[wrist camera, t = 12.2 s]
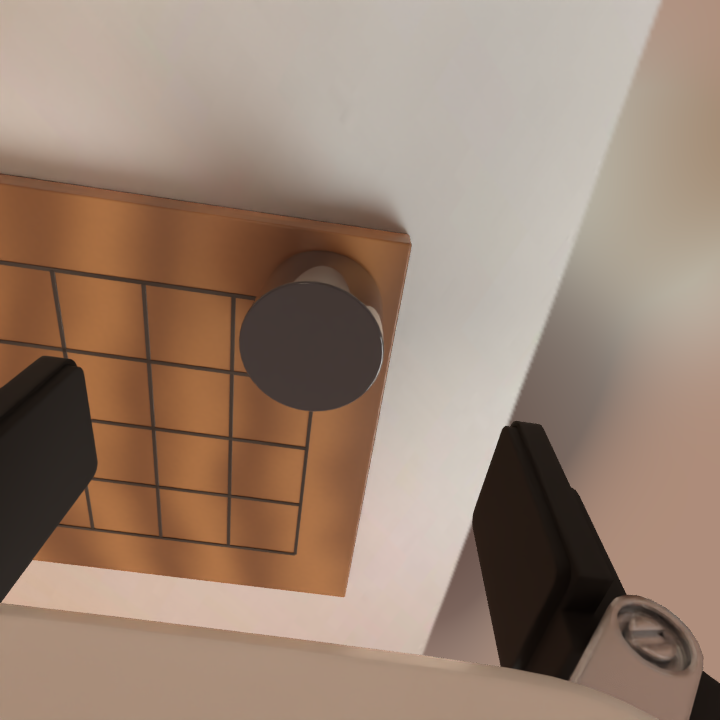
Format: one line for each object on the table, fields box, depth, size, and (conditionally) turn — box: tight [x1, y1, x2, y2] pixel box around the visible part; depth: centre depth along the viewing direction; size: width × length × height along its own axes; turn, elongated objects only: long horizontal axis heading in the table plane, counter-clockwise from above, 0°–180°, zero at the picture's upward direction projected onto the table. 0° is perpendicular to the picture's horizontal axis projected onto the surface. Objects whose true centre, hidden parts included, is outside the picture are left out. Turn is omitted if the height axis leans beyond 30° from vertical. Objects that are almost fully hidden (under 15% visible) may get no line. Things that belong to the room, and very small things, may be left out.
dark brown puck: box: [239, 250, 384, 412], centre depth 18 cm, size 5×5×4 cm
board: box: [0, 174, 412, 597], centre depth 23 cm, size 20×20×2 cm
